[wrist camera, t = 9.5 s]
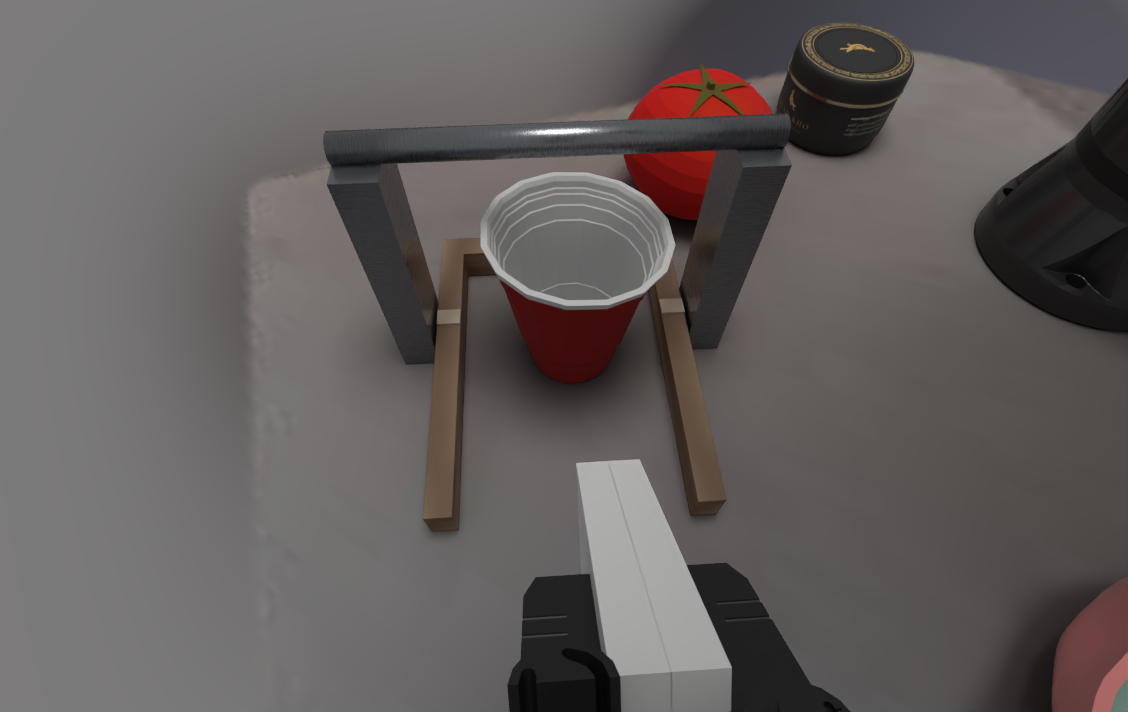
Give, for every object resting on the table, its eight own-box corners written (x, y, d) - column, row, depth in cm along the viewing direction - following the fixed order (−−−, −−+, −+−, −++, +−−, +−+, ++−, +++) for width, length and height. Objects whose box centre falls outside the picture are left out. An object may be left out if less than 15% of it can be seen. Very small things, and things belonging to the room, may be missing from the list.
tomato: (685, 137, 54) (708, 24, 45) (783, 207, 49) (832, 94, 40) (594, 186, 50) (600, 72, 42) (690, 267, 45) (721, 157, 36)
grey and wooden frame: (692, 250, 46) (751, 34, 32) (758, 510, 34) (900, 357, 20) (416, 263, 45) (347, 47, 31) (387, 534, 34) (254, 391, 19)
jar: (751, 110, 57) (774, 32, 50) (833, 88, 59) (866, 11, 52) (810, 171, 52) (845, 93, 45) (898, 145, 54) (943, 67, 47)
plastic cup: (680, 359, 40) (719, 239, 30) (561, 445, 37) (561, 341, 27) (584, 269, 45) (590, 139, 35) (470, 338, 41) (440, 214, 31)
